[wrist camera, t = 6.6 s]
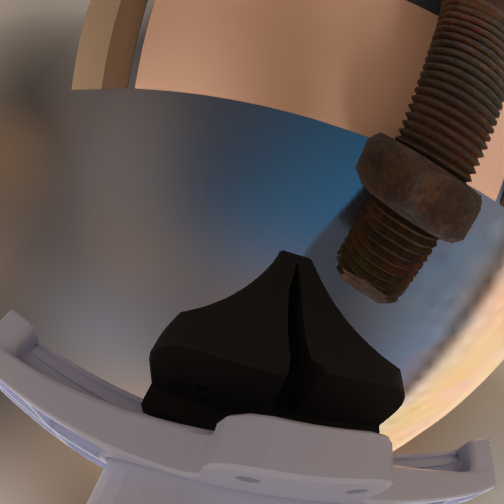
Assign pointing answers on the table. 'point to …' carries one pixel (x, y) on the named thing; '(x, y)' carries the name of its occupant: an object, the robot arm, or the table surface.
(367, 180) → the bolt
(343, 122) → the strip
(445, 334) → the table surface
